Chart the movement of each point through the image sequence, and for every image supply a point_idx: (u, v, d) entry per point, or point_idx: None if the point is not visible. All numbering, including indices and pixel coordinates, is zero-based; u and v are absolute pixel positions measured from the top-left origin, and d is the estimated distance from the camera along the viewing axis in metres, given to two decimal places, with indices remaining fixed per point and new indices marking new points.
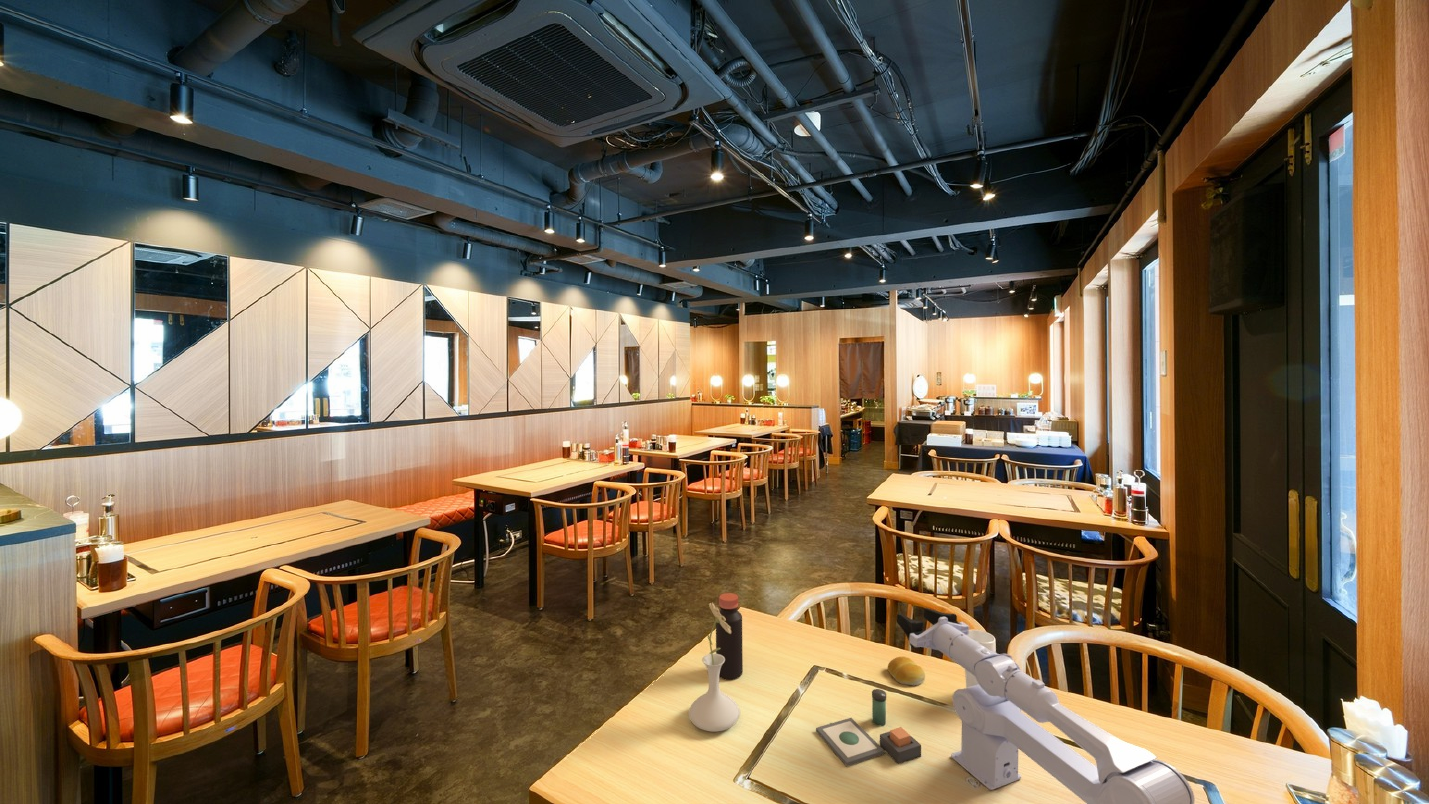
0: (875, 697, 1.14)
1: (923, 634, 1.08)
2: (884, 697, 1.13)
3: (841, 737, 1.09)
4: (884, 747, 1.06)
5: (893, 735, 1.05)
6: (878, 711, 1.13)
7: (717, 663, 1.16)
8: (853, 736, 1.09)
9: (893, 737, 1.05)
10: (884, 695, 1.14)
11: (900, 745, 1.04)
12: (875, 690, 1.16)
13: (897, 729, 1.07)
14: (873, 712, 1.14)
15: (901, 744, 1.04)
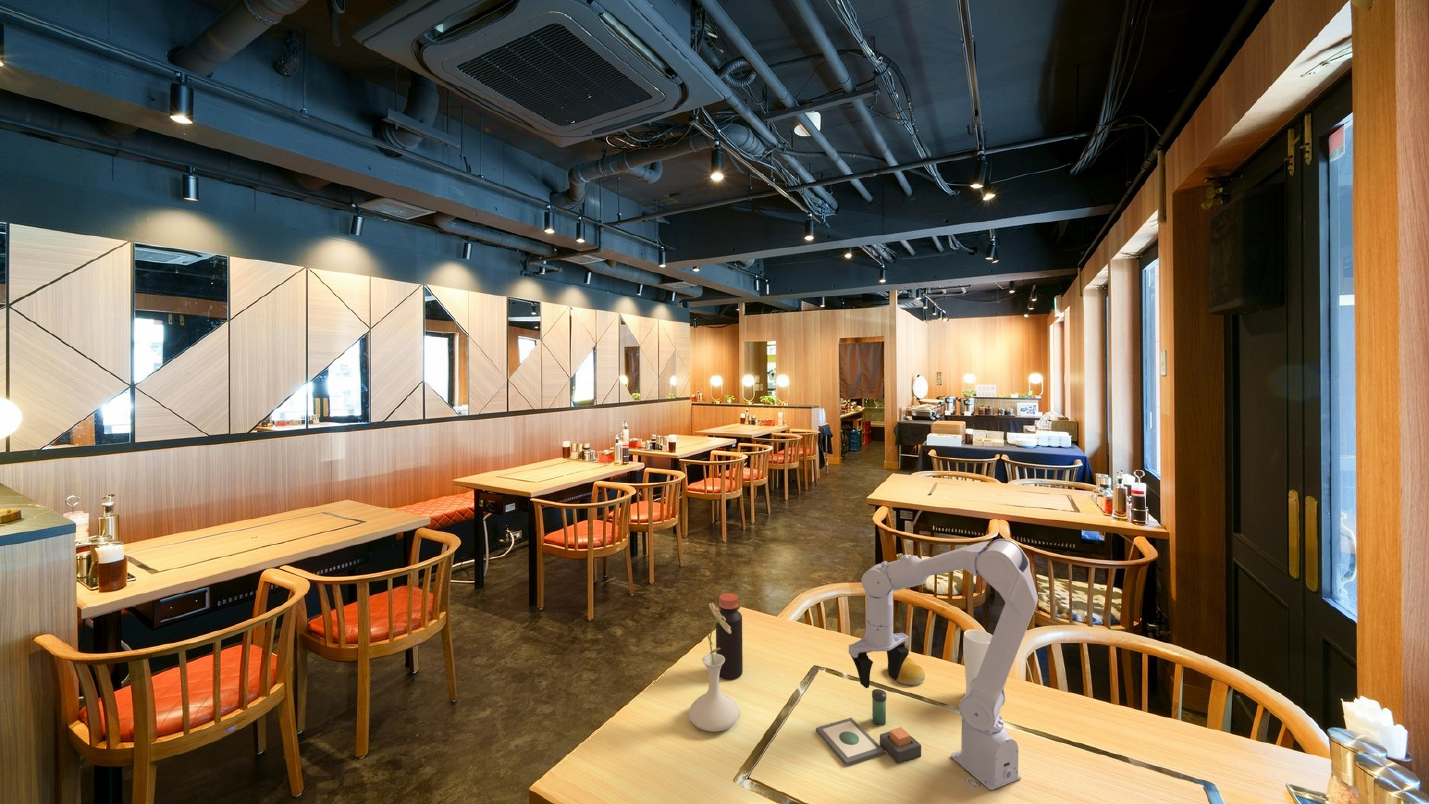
0: (875, 697, 1.14)
1: None
2: (884, 697, 1.13)
3: (841, 737, 1.09)
4: (884, 747, 1.06)
5: (893, 735, 1.05)
6: (878, 711, 1.13)
7: (717, 663, 1.16)
8: (853, 736, 1.09)
9: (893, 737, 1.05)
10: (884, 695, 1.14)
11: (900, 745, 1.04)
12: (875, 690, 1.16)
13: (897, 729, 1.07)
14: (873, 712, 1.14)
15: (901, 744, 1.04)
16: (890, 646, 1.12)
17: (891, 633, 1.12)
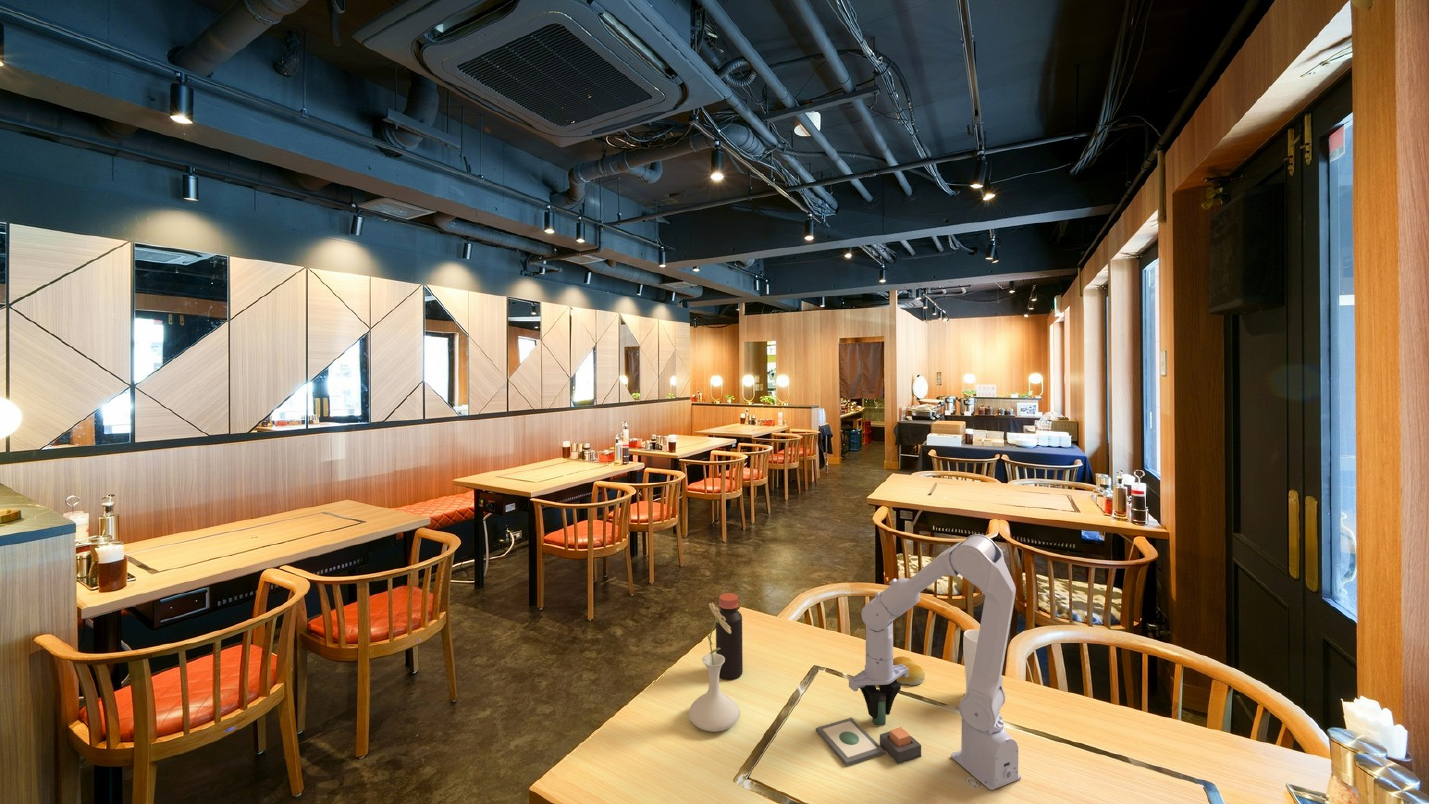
0: None
1: None
2: (884, 697, 1.13)
3: (841, 737, 1.09)
4: (884, 747, 1.06)
5: (893, 735, 1.05)
6: (878, 711, 1.13)
7: (717, 663, 1.16)
8: (853, 736, 1.09)
9: (893, 737, 1.05)
10: (884, 695, 1.14)
11: (900, 745, 1.04)
12: None
13: (897, 729, 1.07)
14: None
15: (901, 744, 1.04)
16: (890, 679, 1.12)
17: (891, 666, 1.12)
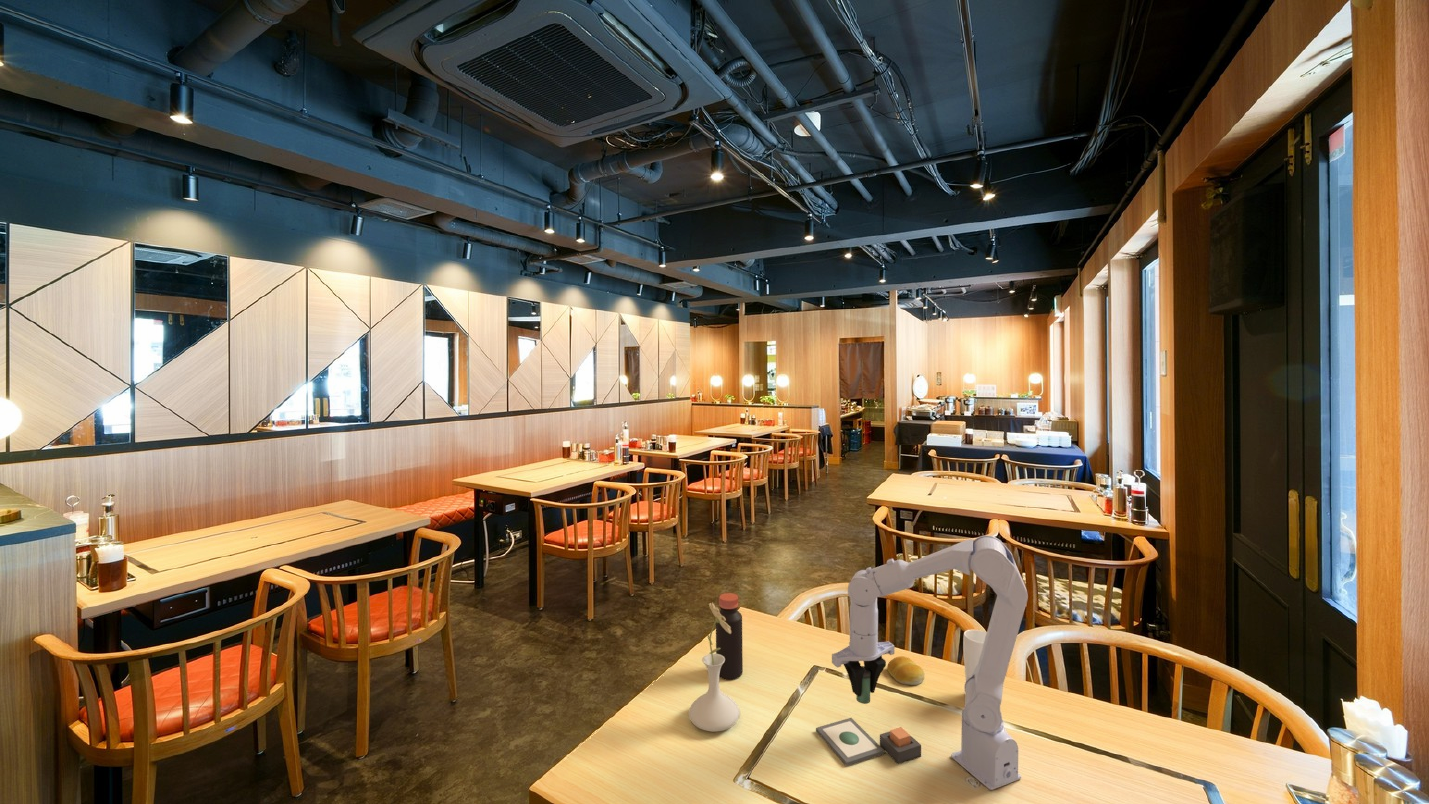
0: None
1: None
2: (868, 674, 1.10)
3: (841, 737, 1.09)
4: (884, 747, 1.06)
5: (893, 735, 1.05)
6: (862, 688, 1.10)
7: (717, 663, 1.16)
8: (853, 736, 1.09)
9: (893, 737, 1.05)
10: (868, 672, 1.10)
11: (900, 745, 1.04)
12: None
13: (897, 729, 1.07)
14: None
15: (901, 744, 1.04)
16: (874, 655, 1.08)
17: (875, 642, 1.09)
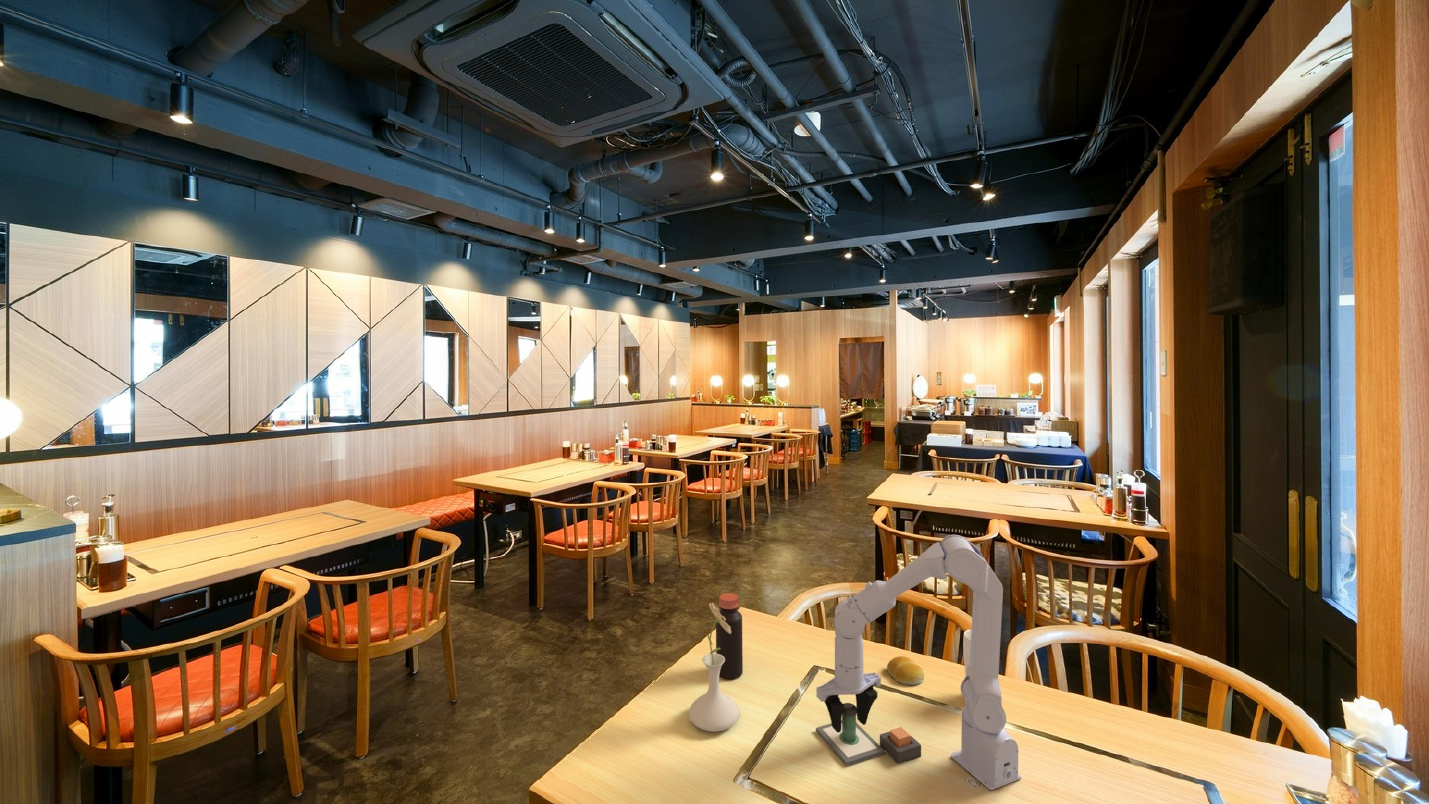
0: (844, 712, 1.07)
1: None
2: (854, 712, 1.07)
3: (841, 737, 1.09)
4: (884, 747, 1.06)
5: (893, 735, 1.05)
6: (847, 727, 1.07)
7: (717, 663, 1.16)
8: None
9: (893, 737, 1.05)
10: (854, 710, 1.07)
11: (900, 745, 1.04)
12: (845, 704, 1.09)
13: (897, 729, 1.07)
14: (842, 727, 1.08)
15: (901, 744, 1.04)
16: (860, 689, 1.05)
17: (861, 675, 1.06)
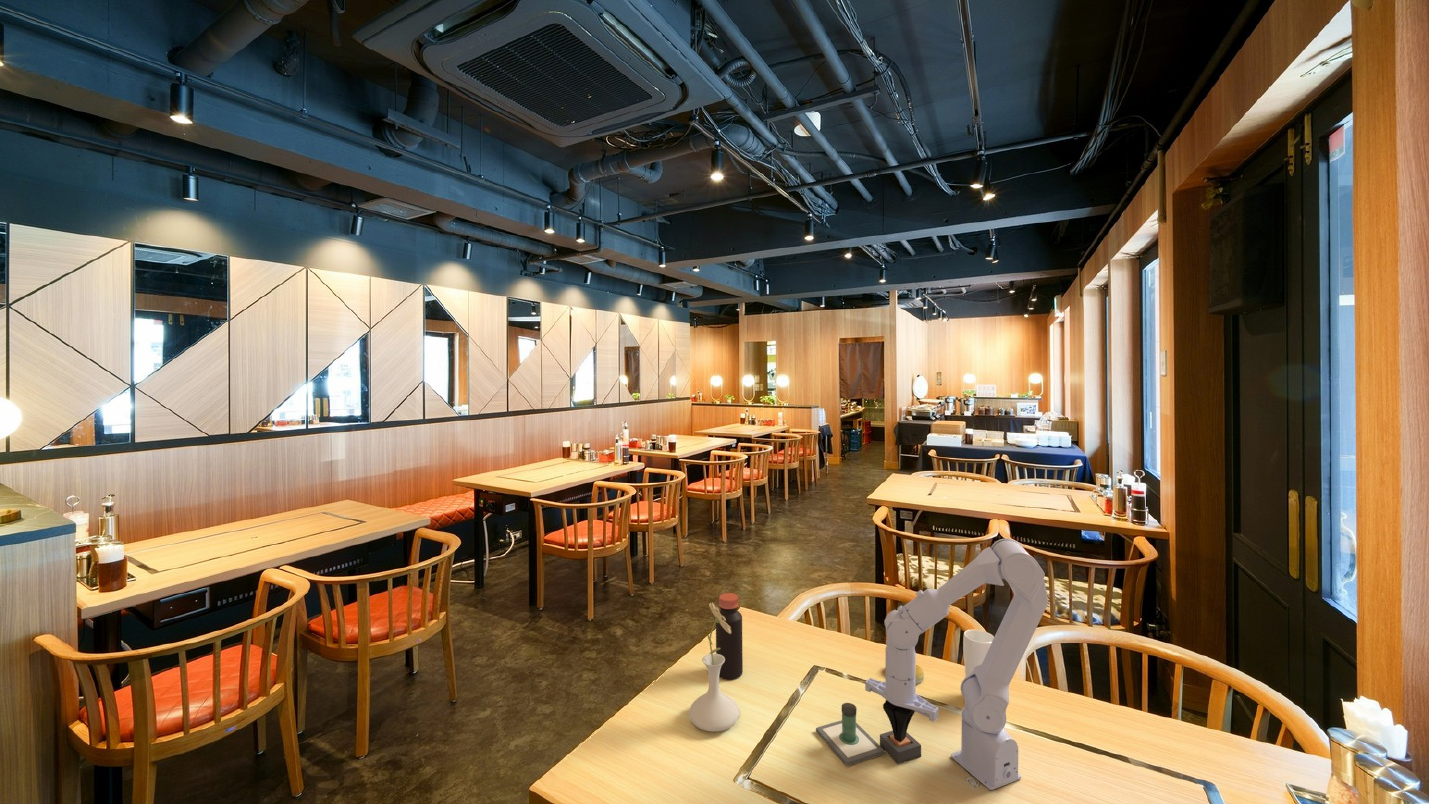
0: (844, 712, 1.07)
1: None
2: (854, 712, 1.07)
3: (841, 737, 1.09)
4: (884, 747, 1.06)
5: (893, 740, 1.05)
6: (847, 727, 1.07)
7: (717, 663, 1.16)
8: None
9: None
10: (854, 710, 1.07)
11: None
12: (845, 704, 1.09)
13: None
14: (842, 727, 1.08)
15: None
16: (896, 701, 1.03)
17: (899, 689, 1.03)
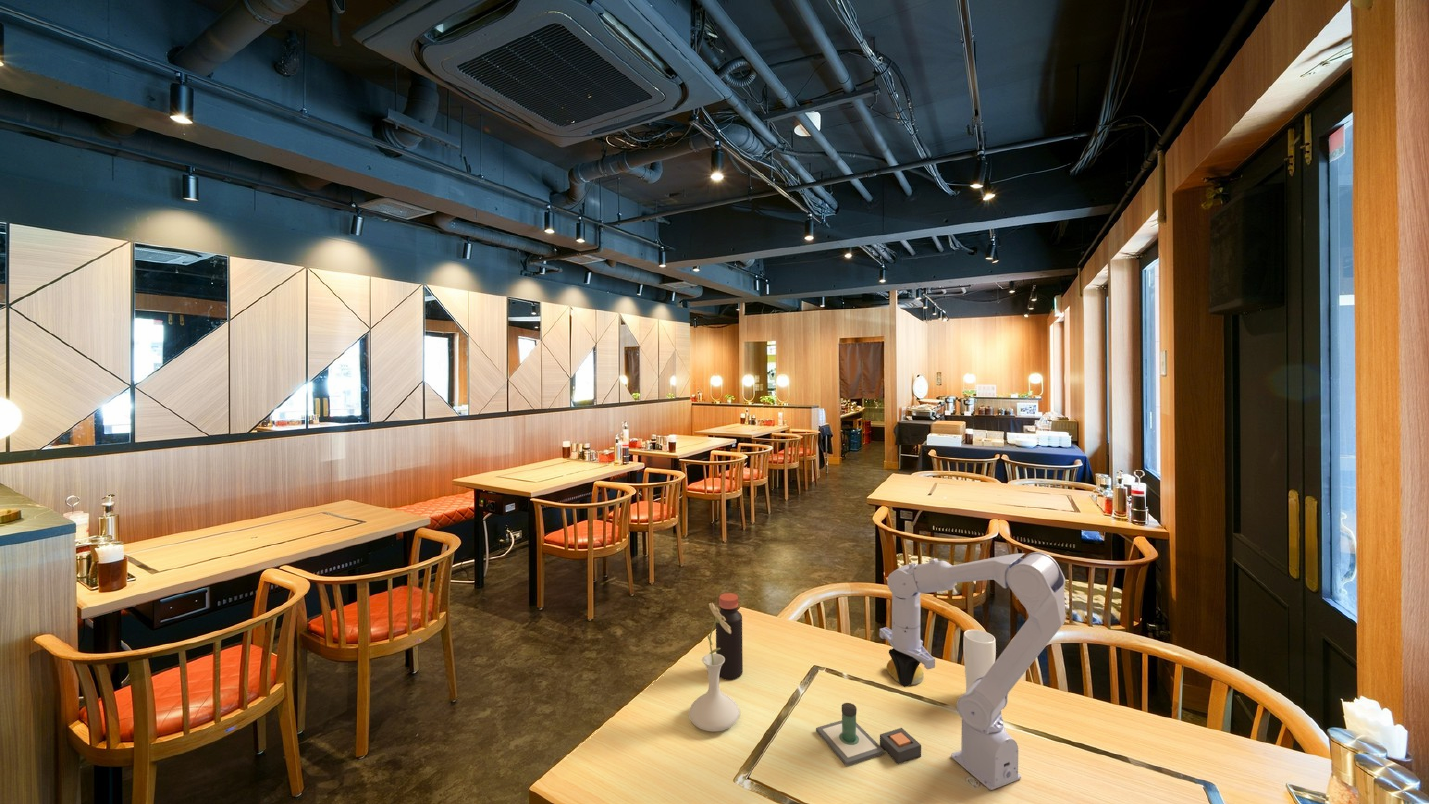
0: (844, 712, 1.07)
1: None
2: (854, 712, 1.07)
3: (841, 737, 1.09)
4: (884, 747, 1.06)
5: (893, 741, 1.05)
6: (847, 727, 1.07)
7: (717, 663, 1.16)
8: None
9: None
10: (854, 710, 1.07)
11: None
12: (845, 704, 1.09)
13: (897, 734, 1.07)
14: (842, 727, 1.08)
15: None
16: (897, 647, 1.10)
17: (900, 635, 1.10)
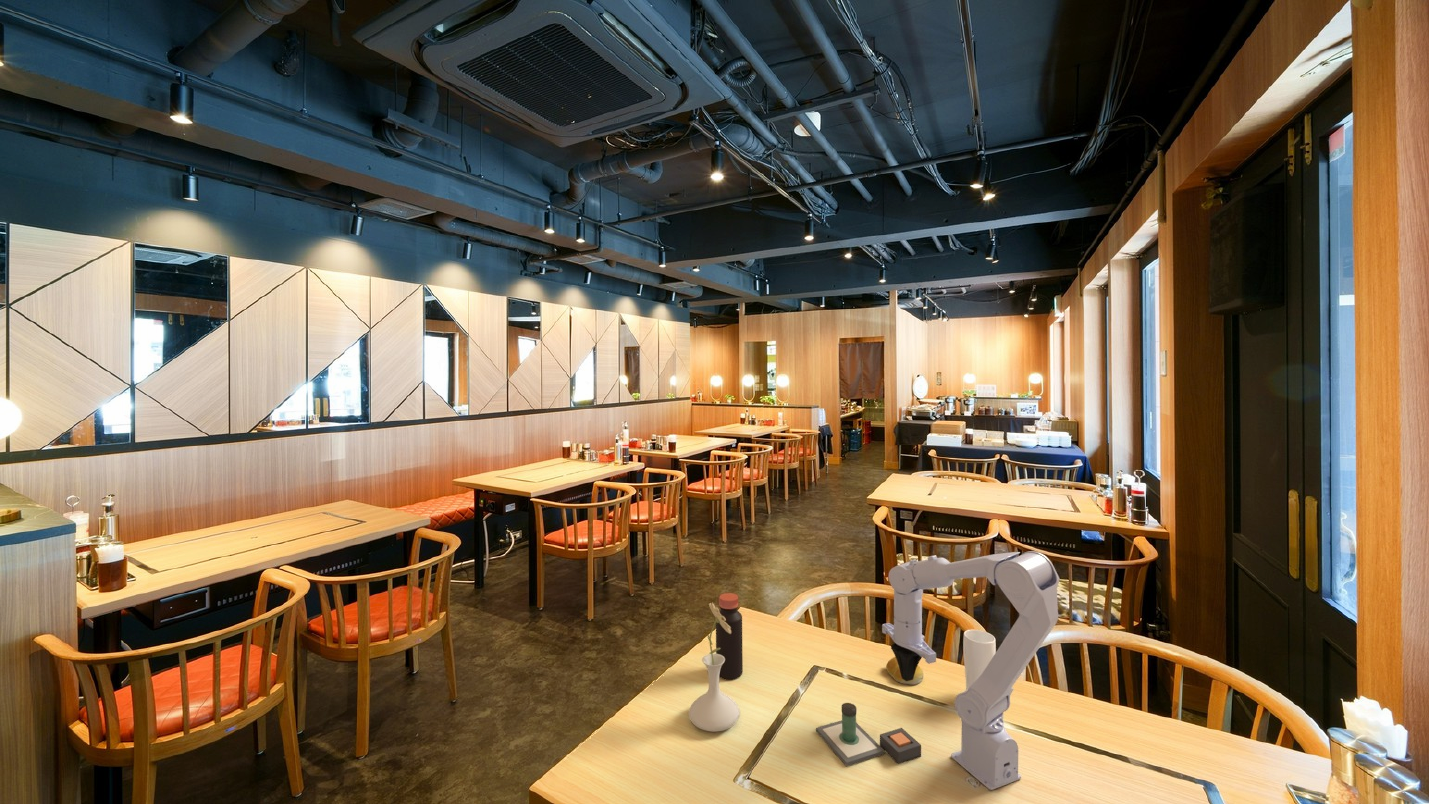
0: (844, 712, 1.07)
1: None
2: (854, 712, 1.07)
3: (841, 737, 1.09)
4: (884, 747, 1.06)
5: (893, 741, 1.05)
6: (847, 727, 1.07)
7: (717, 663, 1.16)
8: None
9: None
10: (854, 710, 1.07)
11: None
12: (845, 704, 1.09)
13: (897, 734, 1.07)
14: (842, 727, 1.08)
15: None
16: (899, 641, 1.13)
17: (901, 630, 1.12)
